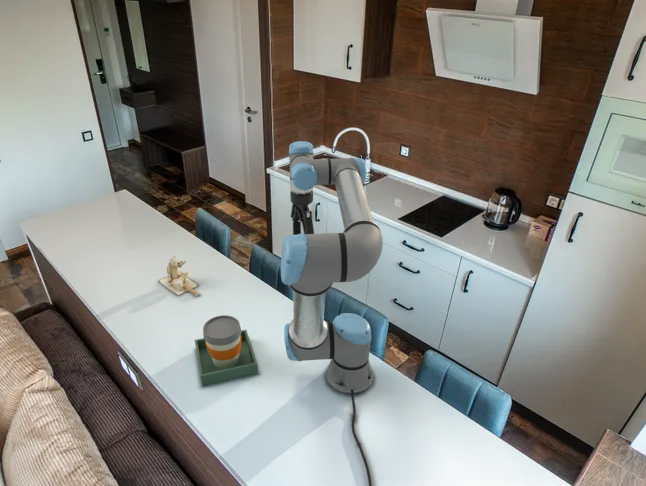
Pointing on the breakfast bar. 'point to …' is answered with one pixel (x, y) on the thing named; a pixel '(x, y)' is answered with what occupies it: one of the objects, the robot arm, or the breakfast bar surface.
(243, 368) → the green square tray
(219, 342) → the reusable coffee cup
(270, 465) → the breakfast bar surface
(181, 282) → the wooden toy
